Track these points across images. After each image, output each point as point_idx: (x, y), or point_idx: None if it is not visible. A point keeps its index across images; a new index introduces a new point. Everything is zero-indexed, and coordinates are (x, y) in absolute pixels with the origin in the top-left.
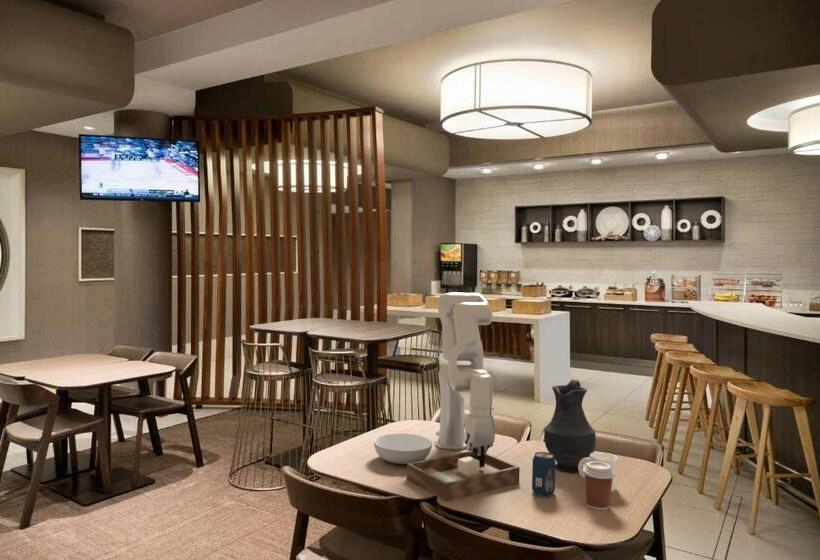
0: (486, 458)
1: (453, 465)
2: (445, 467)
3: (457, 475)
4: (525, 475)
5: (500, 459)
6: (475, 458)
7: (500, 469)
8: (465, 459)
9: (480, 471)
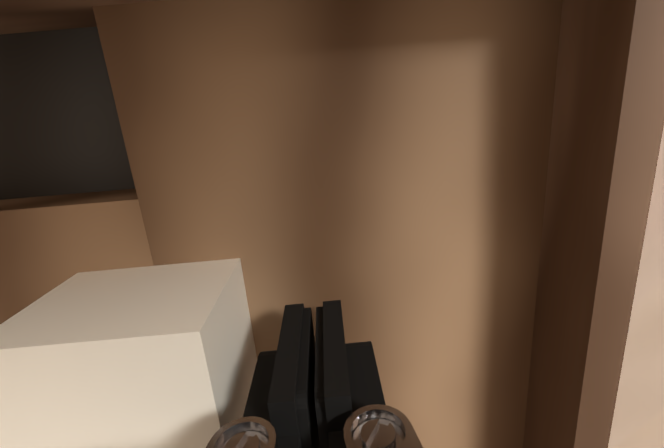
0: (574, 167)
1: (114, 82)
2: (42, 22)
3: None
4: (658, 396)
5: (606, 399)
6: (251, 405)
7: (500, 395)
8: (69, 411)
9: None
